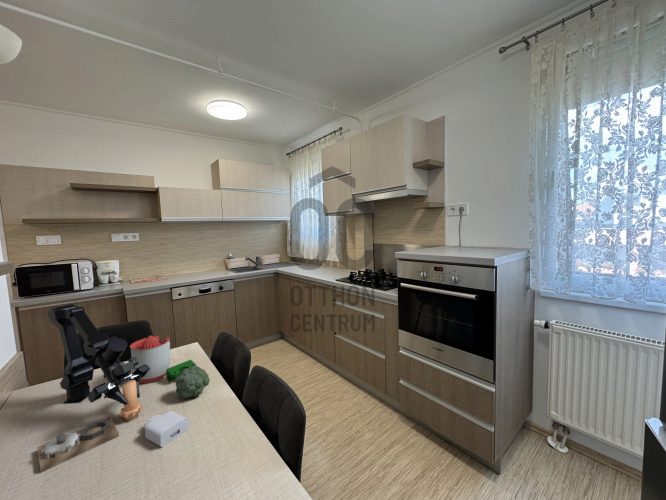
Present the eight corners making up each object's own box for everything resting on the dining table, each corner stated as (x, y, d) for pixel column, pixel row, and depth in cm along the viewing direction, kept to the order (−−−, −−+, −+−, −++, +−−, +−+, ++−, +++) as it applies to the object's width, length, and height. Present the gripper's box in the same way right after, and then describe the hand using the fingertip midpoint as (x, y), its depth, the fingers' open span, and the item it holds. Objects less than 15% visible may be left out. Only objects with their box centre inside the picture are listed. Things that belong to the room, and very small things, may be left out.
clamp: (176, 391, 126) (168, 378, 121) (169, 384, 129) (162, 372, 125) (200, 371, 134) (194, 359, 130) (193, 365, 137) (187, 353, 133)
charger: (162, 417, 102) (188, 430, 95) (135, 433, 94) (161, 449, 87) (161, 404, 102) (187, 416, 95) (134, 420, 94) (160, 434, 87)
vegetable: (219, 377, 125) (209, 378, 111) (198, 403, 120) (184, 408, 106) (199, 360, 127) (187, 359, 113) (177, 385, 122) (161, 388, 108)
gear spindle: (116, 424, 98) (113, 388, 98) (128, 411, 105) (125, 378, 104) (135, 422, 99) (133, 387, 98) (146, 410, 106) (144, 377, 105)
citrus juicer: (182, 368, 138) (179, 329, 136) (152, 388, 121) (149, 343, 120) (156, 365, 141) (153, 327, 140) (123, 384, 125) (120, 341, 123)
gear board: (40, 472, 79) (39, 456, 78) (37, 451, 87) (36, 436, 86) (118, 436, 93) (117, 421, 92) (110, 420, 100) (109, 407, 100)
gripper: (90, 365, 93) (113, 404, 90) (145, 344, 111) (166, 375, 107) (78, 383, 97) (100, 421, 93) (133, 360, 114) (154, 391, 111)
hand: (133, 400), depth 101 cm, fingers closed on gear spindle, 4 cm apart
